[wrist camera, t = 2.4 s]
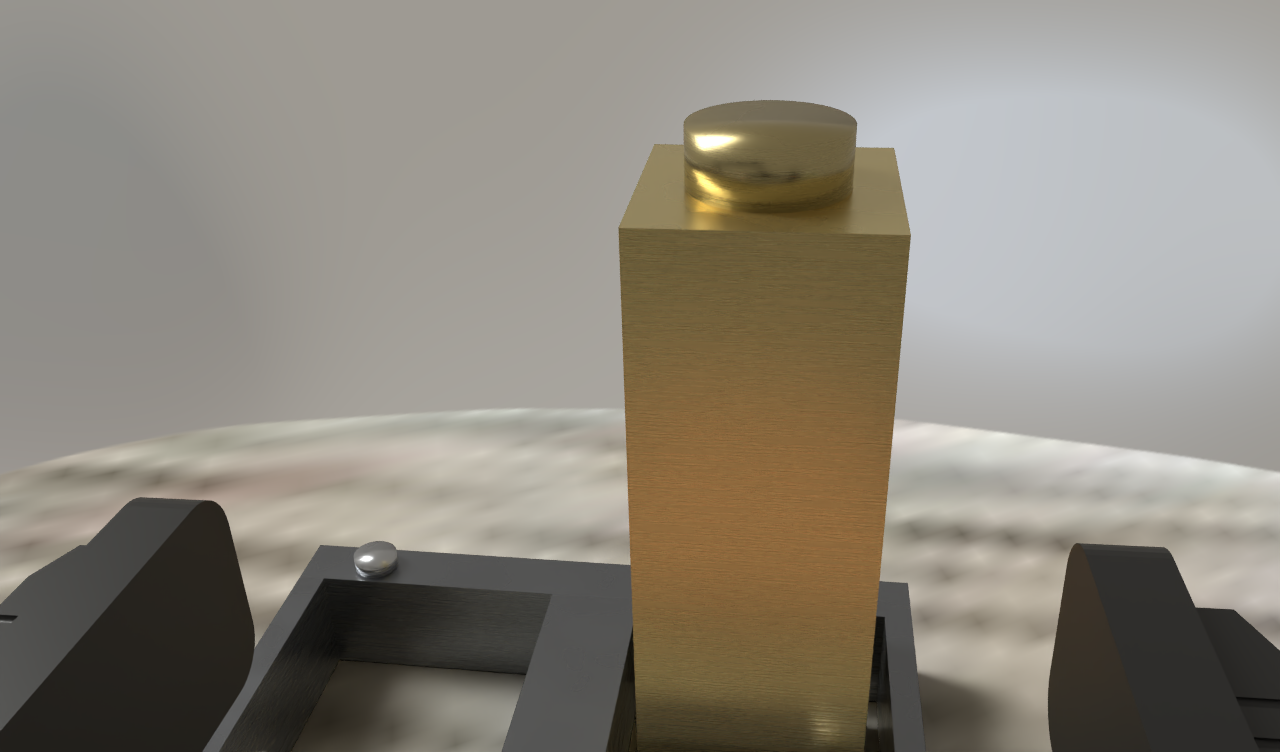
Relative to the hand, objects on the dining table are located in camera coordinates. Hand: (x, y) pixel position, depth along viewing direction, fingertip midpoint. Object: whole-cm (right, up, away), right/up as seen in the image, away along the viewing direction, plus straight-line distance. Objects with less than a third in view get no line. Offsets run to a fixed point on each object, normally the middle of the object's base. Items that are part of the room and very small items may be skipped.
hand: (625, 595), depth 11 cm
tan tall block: (+3, -8, +19) cm, 20 cm away
